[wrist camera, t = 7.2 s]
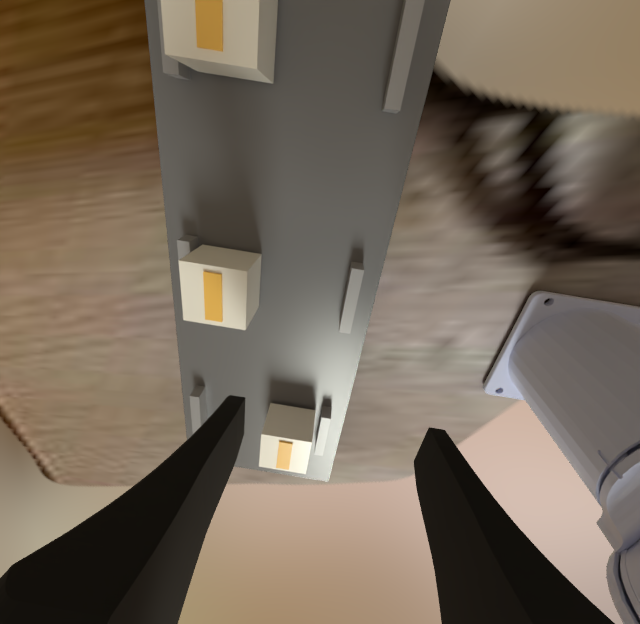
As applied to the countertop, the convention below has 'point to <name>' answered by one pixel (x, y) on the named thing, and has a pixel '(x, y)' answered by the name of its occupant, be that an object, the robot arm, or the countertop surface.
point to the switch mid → (220, 286)
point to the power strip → (293, 201)
